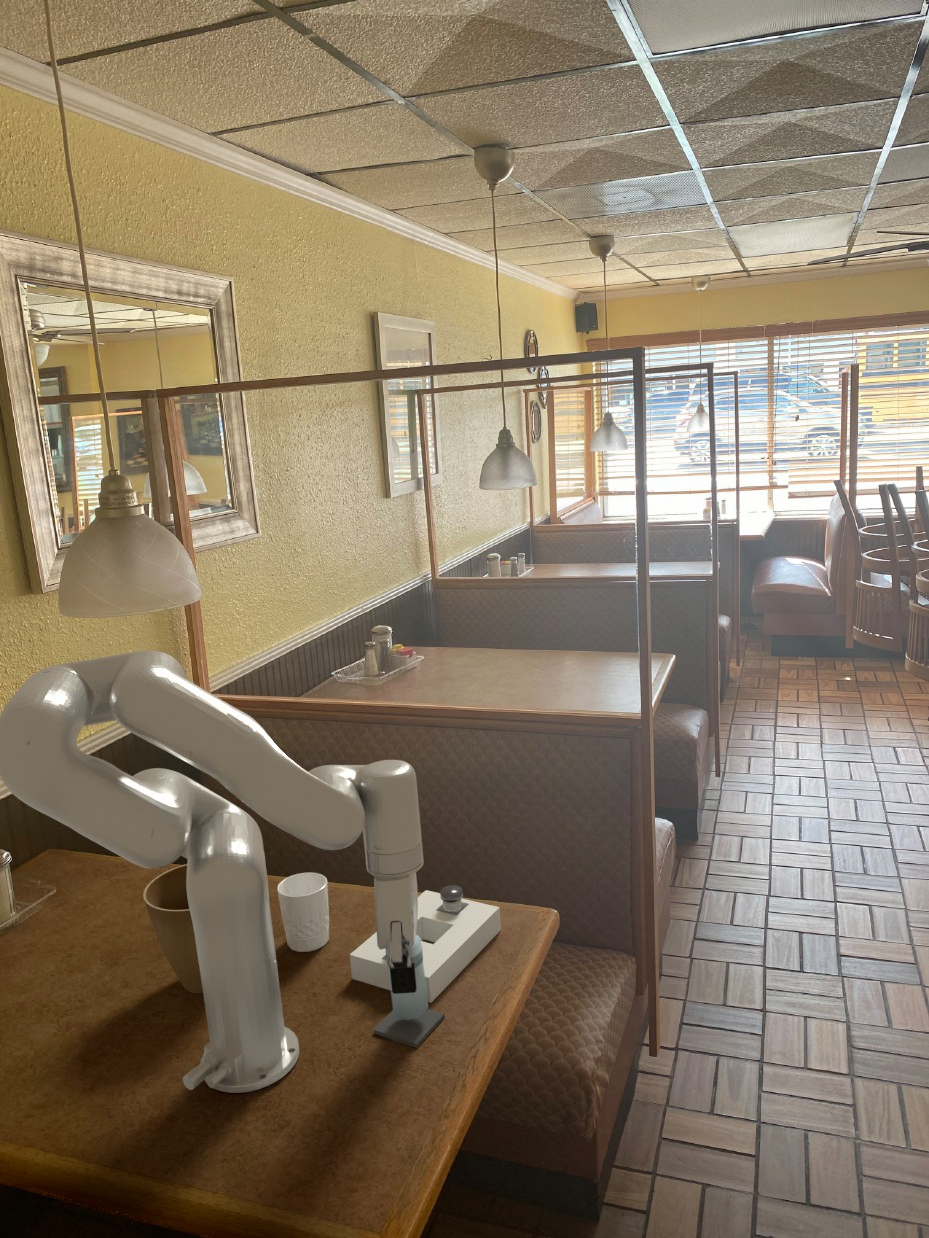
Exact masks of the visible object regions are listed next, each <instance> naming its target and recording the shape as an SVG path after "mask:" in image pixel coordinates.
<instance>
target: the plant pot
mask: <svg viewBox="0 0 929 1238" xmlns="http://www.w3.org/2000/svg"><path fill="white" fill-rule="evenodd" d="M186 876H187V863H186V864H182V865H178V866H176V867H174V868H170V869H169V870H166V871H164V872H163V873H161V874H159V875H157V876H156V877H154V878H153V879H152V880H151V881H150V882H149V883H148V884H147V885H146V887H145V888H144V890H143V894H142V897H143V901H144V905H145V907H146V910H147V913H148V914H147V915H148V917H149V920H150V923H151V926H152V928H153V931H154V933H155V935H156V938H157V940H158V943H159V945H160V947H161V950H162V951H163V955H165V956H164V957H165V958H166V959H167V962H168V963H169V965H170V967H171V968H172V970H173V973H174V974H175V976H176V977H177V978H178V980H179V981H180V983H181V985H182V986H183V988H184V989H185V990H186V991H188V992H190V993H192V994H203V988H202V981H201V974H200V967H199V962H198V955H197V948H196V941H195V934H194V928H193V923H192V918H191V914H190V909H189V904H188V898H187V888H186Z"/></svg>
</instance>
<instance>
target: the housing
mask: <svg viewBox="0 0 929 1238" xmlns="http://www.w3.org/2000/svg"><path fill="white" fill-rule="evenodd" d="M461 903H462V911H461V912H460V913H459V914H458V915H457V916H456V915H452V914H448V913H444V912H443V900H441V897H440V892H435V891H431V890H428V889H426V890H424V891H423V892H422V893H421V894H420V895H418V918H417V928H416V935H418V936H419V937H420V939H421V945H422V951H423V964H424V973H425V982H426V991H427V1000H428V1003H430V1004H432V1003H433V1002H434V1000H435V999H436V998H438V997H439V996H440V994H441V993H442V992H443V991H444V990H445V989H446V988H447V987H448V986H449V985H450V984H451V983H452V981H454V980H455V979H456V978H457V976H458V975H459V974H461V972H462V971H463V970H464V969H465V968H466V967H467V966H469V964H470V963H471V962H472V961H473V960H474V959H475V958H476V957H477V956H478V955H479V954H480V953H481V951H482V950H484V949H485V947H486V946H488V945H489V943H491V941H492V940H493V939H494V938H495V937H496V936H497V935H498V934H499V933H500V931H502V926H501V925H502V924H501V911H500V908H501V907H499V906H497V905H492V904H486V903H484V902H483V903H482V902H478V901H476V900H475V901H474V900H470V899H465V898H463V897H462V898H461ZM426 941H428V942H426ZM430 942H432V943H430ZM349 959H350V971H351V978H352V979H351V980H355V981H359V982H362V983H364V984H368V985H371V986H375V987H377V988H382V989H385V990H388V991H390V992H391V989H390V981H389V973H388V965H387V959H386V949H382V950H380V949H379V948H378V946H377V931H375V932H374V934H372V935H371V936H370V937H369V938H368V939H366V940H365V941H364V942H363V943H362V944H360V945H359V946H358V947H357V948H355V950H353V951H352V952H350V954H349Z"/></svg>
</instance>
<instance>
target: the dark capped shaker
mask: <svg viewBox="0 0 929 1238" xmlns="http://www.w3.org/2000/svg"><path fill="white" fill-rule="evenodd" d="M463 891H464V890H463V888H462V887H461V886H459V885H455V884H452V885H451V884H450V885H446V886H444V887H442V888H441V889H440V890H439V893H440V897H441V900H443V912H444V913H448V914H452V915H456V916H457V915H458V914H459V913H460V912H461V911H462V903H461V898H462V899H463V897H464V894H463Z"/></svg>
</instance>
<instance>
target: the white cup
mask: <svg viewBox="0 0 929 1238" xmlns="http://www.w3.org/2000/svg"><path fill="white" fill-rule="evenodd" d="M328 888H329V887H328V879H327V877H326V876H325V875H323V874H321V873H319V872H302V873H296V874H292V875H290V876H287V877H286V878H284V879H283V880H281V881H280V882H279V883H278V884H277V888H276V891H277V895H278V901H279V906H280V907H279V908H280V913H281V918H282V924H283V928H284V930H285V938H286V943H287V946H288V947H289V949H290V950H292V951H295V952H298V953H299V952H301V953H305V952H306V953H307V952H308V953H309V952H312V951H316V950H319V949H320V948H322V947H325V946H326V944H327V943H328V942H329V940H330V927H329V925H330V908H329V905H330V904H329V890H328Z"/></svg>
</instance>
